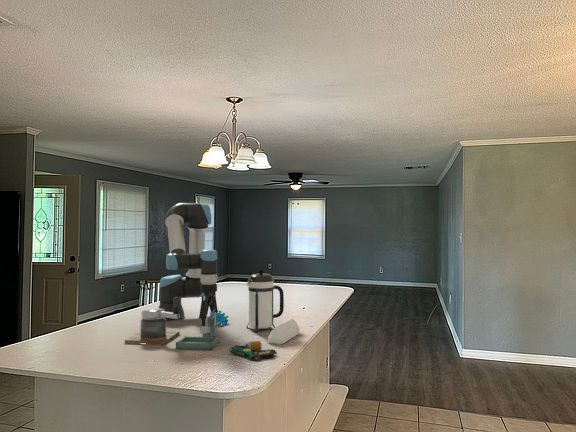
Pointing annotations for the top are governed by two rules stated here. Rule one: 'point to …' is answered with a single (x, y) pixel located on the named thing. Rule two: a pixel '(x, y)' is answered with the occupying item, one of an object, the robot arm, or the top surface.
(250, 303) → the coffee press
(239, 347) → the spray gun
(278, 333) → the white faceted wedge
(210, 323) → the label tape cartridge
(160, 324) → the stand
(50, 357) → the top surface
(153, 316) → the crank
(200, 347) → the tray
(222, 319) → the gear
